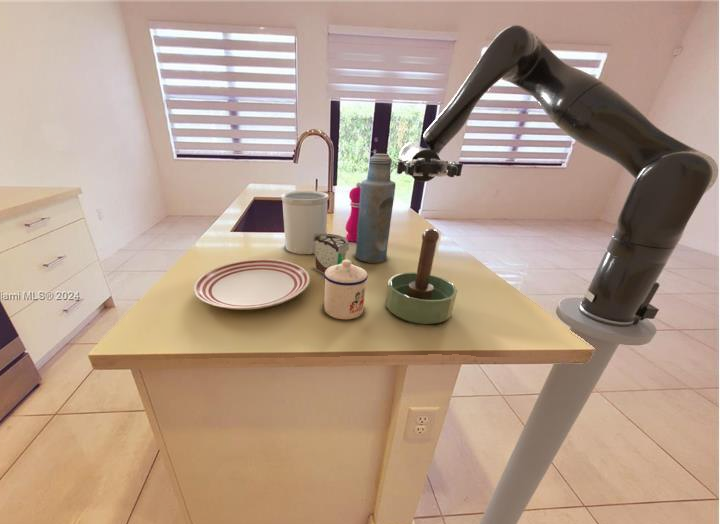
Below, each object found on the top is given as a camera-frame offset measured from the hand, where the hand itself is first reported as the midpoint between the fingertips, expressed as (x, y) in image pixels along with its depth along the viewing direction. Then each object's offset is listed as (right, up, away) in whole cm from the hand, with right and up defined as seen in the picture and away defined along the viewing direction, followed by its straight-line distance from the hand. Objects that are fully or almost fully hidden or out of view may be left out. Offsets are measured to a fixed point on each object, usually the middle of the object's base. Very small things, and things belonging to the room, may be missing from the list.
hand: (432, 171), depth 67 cm
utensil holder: (-29, -11, +39) cm, 50 cm away
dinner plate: (-41, -26, +10) cm, 49 cm away
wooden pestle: (-2, -29, +3) cm, 29 cm away
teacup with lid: (-18, -30, +4) cm, 35 cm away
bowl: (-2, -30, +3) cm, 30 cm away
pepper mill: (-11, -6, +48) cm, 50 cm away
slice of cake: (-20, -20, +21) cm, 36 cm away
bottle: (-8, -15, +32) cm, 36 cm away
